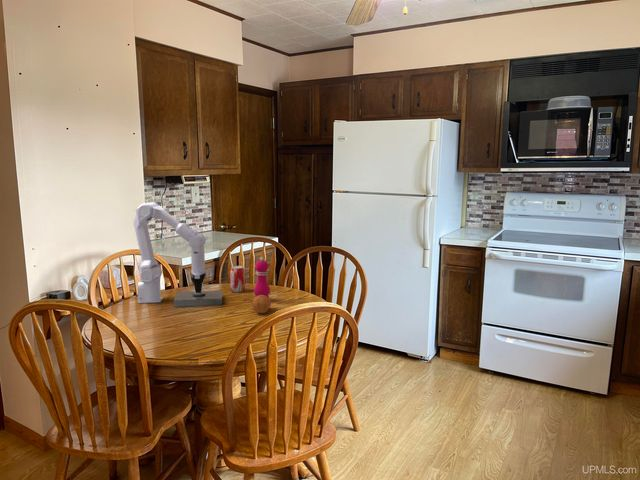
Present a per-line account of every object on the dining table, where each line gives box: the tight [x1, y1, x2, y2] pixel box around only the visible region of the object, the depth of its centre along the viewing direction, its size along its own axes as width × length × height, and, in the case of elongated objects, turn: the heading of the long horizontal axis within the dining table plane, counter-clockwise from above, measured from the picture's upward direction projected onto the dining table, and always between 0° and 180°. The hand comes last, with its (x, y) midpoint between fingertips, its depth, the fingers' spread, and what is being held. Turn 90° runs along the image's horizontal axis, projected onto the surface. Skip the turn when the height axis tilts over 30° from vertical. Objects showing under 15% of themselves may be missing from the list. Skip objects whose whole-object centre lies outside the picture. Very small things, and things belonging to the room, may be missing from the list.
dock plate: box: [173, 290, 224, 308], centre depth 213 cm, size 20×14×3 cm
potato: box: [252, 295, 272, 314], centre depth 199 cm, size 7×13×7 cm, turn 174°
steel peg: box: [193, 282, 204, 297], centre depth 212 cm, size 4×4×9 cm
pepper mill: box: [253, 256, 271, 299], centre depth 214 cm, size 7×7×20 cm
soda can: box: [229, 265, 246, 293], centre depth 232 cm, size 7×7×12 cm
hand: (199, 291), depth 212 cm, fingers open, 5 cm apart
